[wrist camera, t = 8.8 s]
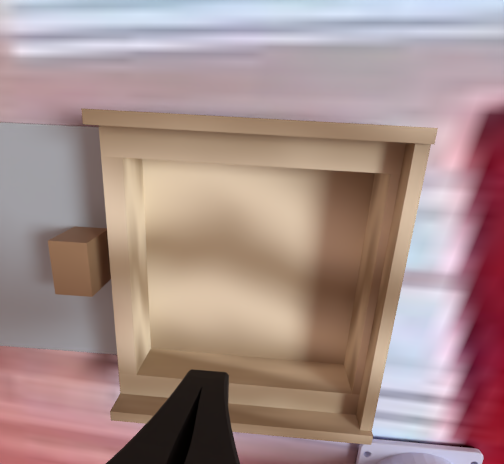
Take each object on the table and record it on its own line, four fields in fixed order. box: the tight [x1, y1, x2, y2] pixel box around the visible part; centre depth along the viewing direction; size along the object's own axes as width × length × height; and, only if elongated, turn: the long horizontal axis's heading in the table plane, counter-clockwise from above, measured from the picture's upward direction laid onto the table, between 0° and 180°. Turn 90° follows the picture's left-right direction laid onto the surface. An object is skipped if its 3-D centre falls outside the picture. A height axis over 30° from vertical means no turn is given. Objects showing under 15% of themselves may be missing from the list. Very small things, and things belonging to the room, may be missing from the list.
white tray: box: [0, 122, 117, 355], centre depth 20 cm, size 14×13×4 cm
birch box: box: [82, 109, 438, 445], centre depth 18 cm, size 16×14×4 cm
